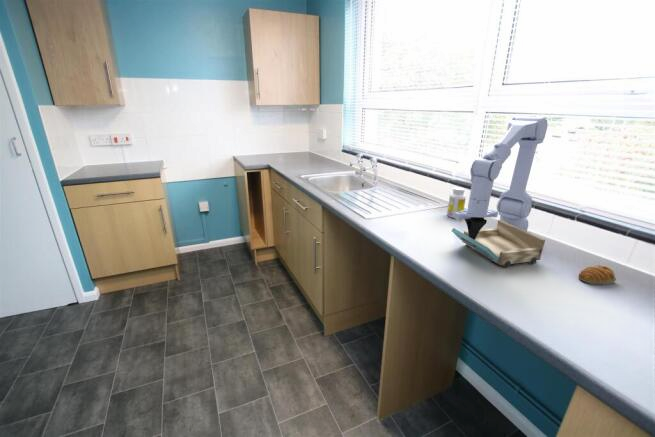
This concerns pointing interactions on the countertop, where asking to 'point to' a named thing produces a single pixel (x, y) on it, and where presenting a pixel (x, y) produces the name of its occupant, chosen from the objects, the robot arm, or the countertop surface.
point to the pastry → (597, 275)
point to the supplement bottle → (456, 201)
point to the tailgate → (475, 244)
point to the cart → (510, 244)
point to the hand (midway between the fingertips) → (471, 239)
